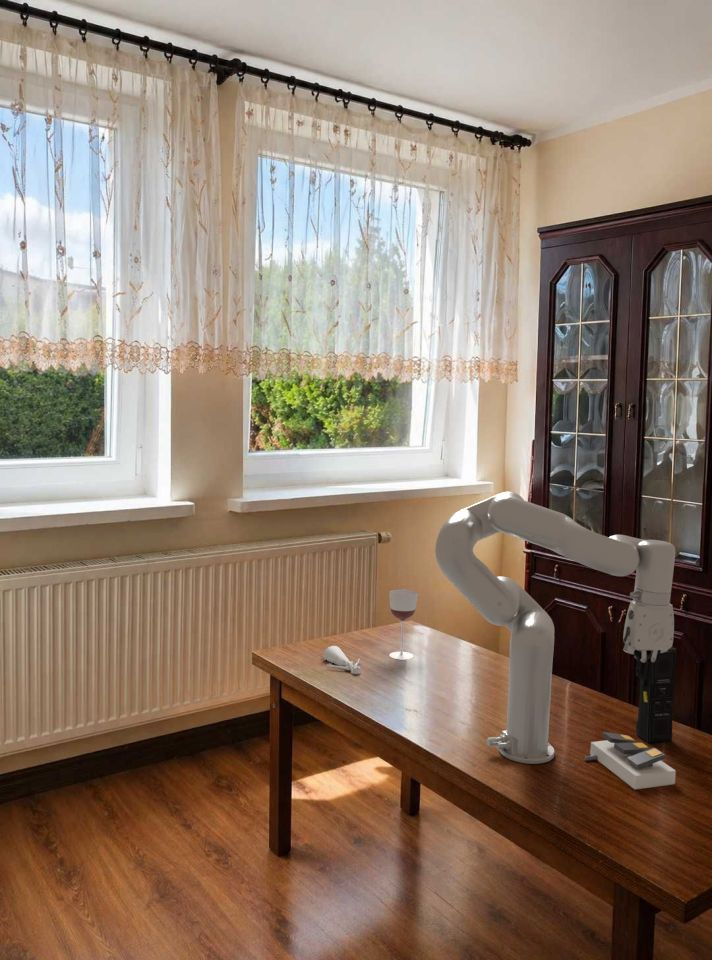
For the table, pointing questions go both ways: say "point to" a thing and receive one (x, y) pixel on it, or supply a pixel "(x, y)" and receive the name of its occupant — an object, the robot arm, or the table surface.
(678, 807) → the table surface
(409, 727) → the table surface
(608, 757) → the rocker switch panel
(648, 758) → the rocker far end
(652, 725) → the portable radio
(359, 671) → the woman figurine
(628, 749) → the rocker middle
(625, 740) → the rocker near arm
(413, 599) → the wineglass
